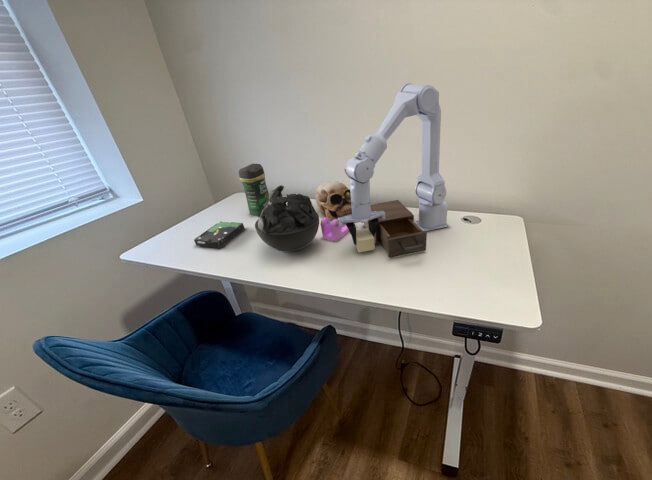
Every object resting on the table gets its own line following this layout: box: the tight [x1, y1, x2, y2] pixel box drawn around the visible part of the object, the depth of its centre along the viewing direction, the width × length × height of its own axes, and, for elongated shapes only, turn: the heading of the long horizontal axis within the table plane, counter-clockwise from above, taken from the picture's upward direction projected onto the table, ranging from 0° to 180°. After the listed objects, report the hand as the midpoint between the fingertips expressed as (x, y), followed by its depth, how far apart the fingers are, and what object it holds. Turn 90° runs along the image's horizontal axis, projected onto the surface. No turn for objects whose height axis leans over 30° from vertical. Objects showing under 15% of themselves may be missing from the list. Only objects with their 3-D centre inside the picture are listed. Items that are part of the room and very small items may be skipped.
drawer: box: [377, 218, 428, 259], centre depth 99 cm, size 18×12×6 cm, turn 18°
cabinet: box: [363, 199, 415, 245], centre depth 110 cm, size 14×13×8 cm
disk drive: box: [193, 221, 246, 249], centre depth 114 cm, size 10×3×15 cm
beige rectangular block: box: [354, 227, 376, 253], centre depth 101 cm, size 5×8×4 cm
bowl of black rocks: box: [254, 185, 320, 253], centre depth 101 cm, size 20×20×19 cm
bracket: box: [320, 216, 350, 242], centre depth 112 cm, size 13×6×7 cm, turn 152°
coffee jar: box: [237, 163, 270, 217], centre depth 126 cm, size 10×8×19 cm
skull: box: [314, 180, 352, 222], centre depth 123 cm, size 16×17×13 cm
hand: (363, 242), depth 102 cm, fingers closed on beige rectangular block, 5 cm apart
